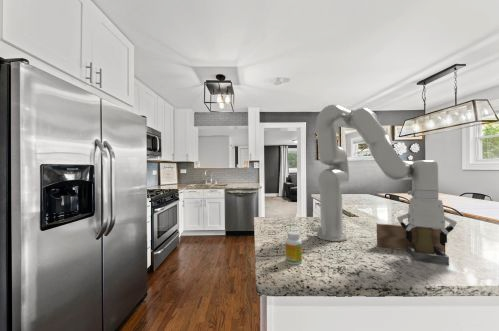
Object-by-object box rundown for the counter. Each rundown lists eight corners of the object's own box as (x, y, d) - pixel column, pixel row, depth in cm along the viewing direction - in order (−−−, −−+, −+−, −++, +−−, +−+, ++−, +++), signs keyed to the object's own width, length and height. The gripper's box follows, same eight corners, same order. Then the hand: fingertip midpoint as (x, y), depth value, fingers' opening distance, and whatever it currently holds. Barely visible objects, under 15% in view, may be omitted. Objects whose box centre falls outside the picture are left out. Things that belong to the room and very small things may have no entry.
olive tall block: (438, 260, 81) (438, 227, 81) (418, 258, 82) (418, 227, 82) (429, 254, 87) (429, 223, 87) (411, 252, 88) (410, 223, 88)
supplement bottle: (298, 266, 76) (298, 236, 76) (283, 262, 79) (282, 233, 79) (304, 260, 81) (303, 232, 81) (289, 257, 84) (289, 230, 84)
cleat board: (379, 256, 85) (379, 230, 85) (376, 245, 97) (376, 223, 97) (457, 266, 76) (457, 237, 76) (444, 253, 88) (443, 228, 88)
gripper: (398, 194, 85) (399, 242, 84) (460, 197, 78) (461, 249, 77) (395, 193, 92) (395, 237, 91) (451, 194, 85) (452, 243, 84)
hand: (425, 242), depth 84 cm, fingers open, 9 cm apart
